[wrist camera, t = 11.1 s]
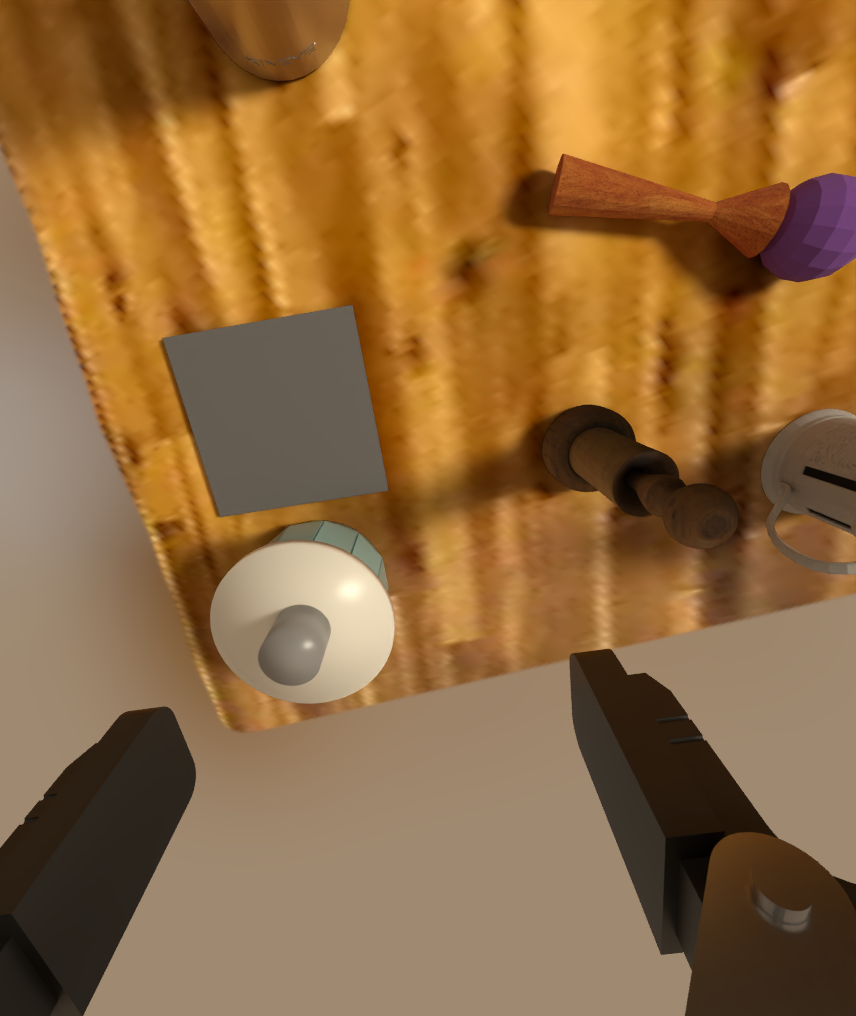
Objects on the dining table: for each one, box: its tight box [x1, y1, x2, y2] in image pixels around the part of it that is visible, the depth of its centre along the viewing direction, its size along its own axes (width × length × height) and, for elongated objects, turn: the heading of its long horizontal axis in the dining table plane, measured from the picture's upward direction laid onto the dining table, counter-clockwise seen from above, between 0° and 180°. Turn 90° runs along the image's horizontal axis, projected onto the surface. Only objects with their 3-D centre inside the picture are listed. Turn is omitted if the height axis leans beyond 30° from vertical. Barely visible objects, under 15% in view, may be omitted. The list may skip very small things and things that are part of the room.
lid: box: [210, 539, 395, 703], centre depth 32 cm, size 13×13×4 cm
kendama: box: [548, 154, 856, 282], centre depth 30 cm, size 6×6×20 cm
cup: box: [266, 520, 389, 592], centre depth 38 cm, size 11×11×7 cm
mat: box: [163, 305, 388, 517], centre depth 36 cm, size 14×14×1 cm
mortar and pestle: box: [542, 405, 739, 549], centre depth 29 cm, size 7×6×18 cm
